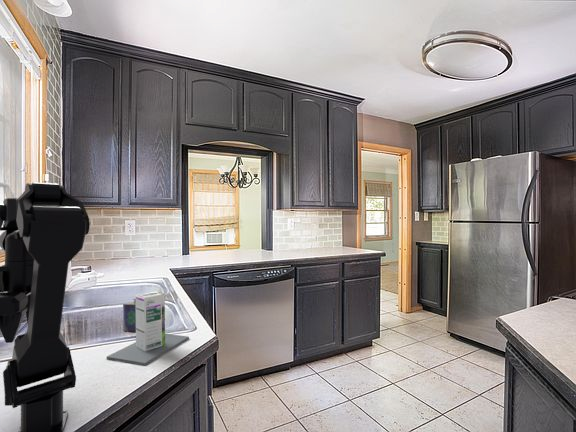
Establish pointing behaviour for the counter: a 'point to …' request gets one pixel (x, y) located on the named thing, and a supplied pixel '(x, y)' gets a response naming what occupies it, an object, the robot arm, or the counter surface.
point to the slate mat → (141, 357)
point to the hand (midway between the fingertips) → (21, 333)
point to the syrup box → (150, 320)
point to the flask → (129, 317)
